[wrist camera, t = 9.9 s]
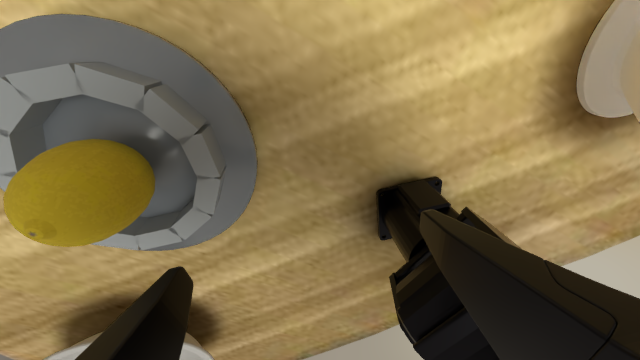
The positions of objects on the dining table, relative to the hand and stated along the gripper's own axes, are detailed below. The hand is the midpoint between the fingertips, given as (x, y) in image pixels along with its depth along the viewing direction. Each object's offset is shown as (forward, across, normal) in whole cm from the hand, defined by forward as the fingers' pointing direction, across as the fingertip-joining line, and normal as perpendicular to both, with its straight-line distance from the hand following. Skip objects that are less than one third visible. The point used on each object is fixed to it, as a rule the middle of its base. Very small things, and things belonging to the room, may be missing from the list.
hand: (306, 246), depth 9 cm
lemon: (+11, +12, -1) cm, 17 cm away
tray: (+12, +12, -1) cm, 17 cm away
